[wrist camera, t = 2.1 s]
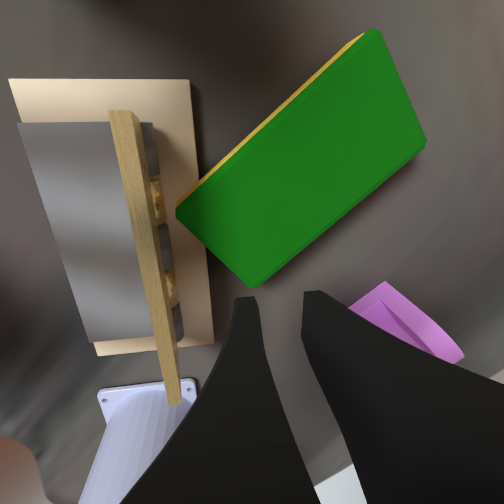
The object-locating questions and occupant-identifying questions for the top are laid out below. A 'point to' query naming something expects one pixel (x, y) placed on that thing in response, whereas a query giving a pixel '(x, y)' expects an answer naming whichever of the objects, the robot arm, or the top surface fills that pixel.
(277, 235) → the dish sponge
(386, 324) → the bracket
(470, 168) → the top surface
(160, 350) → the strip
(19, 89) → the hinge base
